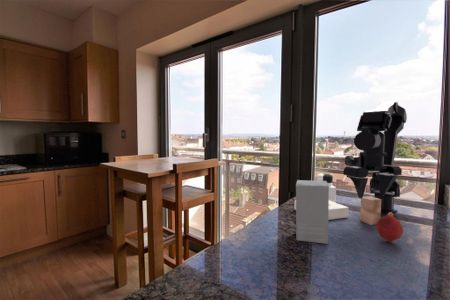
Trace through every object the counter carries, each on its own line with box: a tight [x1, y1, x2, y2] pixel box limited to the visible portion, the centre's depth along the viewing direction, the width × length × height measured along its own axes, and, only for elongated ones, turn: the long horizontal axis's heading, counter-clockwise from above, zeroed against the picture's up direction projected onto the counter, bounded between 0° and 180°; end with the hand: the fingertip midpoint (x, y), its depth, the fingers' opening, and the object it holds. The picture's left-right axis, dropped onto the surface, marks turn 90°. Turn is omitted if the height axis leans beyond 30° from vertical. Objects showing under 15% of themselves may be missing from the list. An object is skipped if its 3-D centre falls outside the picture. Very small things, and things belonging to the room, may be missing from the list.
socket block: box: [293, 199, 350, 221], centre depth 86 cm, size 13×13×4 cm
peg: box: [359, 195, 382, 226], centre depth 78 cm, size 4×4×8 cm
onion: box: [375, 212, 404, 243], centre depth 63 cm, size 6×6×8 cm
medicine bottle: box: [316, 173, 337, 203], centre depth 101 cm, size 7×7×12 cm
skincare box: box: [295, 179, 329, 245], centre depth 65 cm, size 8×7×16 cm
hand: (371, 196), depth 77 cm, fingers open, 9 cm apart
